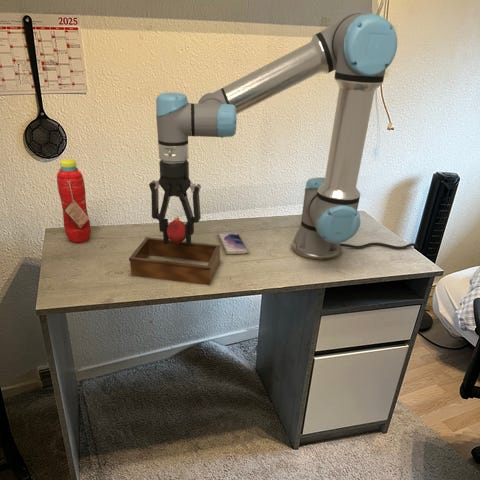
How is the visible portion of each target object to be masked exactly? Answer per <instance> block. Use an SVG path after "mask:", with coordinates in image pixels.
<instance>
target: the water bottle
mask: <svg viewBox="0 0 480 480" xmlns="http://www.w3.org/2000/svg"><path fill="white" fill-rule="evenodd" d="M59 166H60V168H59V169H58V172H57V174H56V183H57V184H56V185H57V190H58V195H59V198H60V203H61V208H62V217H63V228H64V233H65V235H66V237H67V238H68V240H69V242H72V243H76V244H77V243H78V244H80V243H85V242H87V241H89V239H90V236H91V233H92V231H91V223H90V217H89V213H88V209H87V199H86V198H87V197H86V186H85V185H86V184H85V180H84V177H83V176H84V175H83V174H82V172H81V171H80V170H79V169H78V167H77V166H78V164H77V162H76V160H75V159H70V158H65V159H61V160H60V161H59Z"/></svg>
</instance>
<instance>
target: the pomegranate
mask: <svg viewBox="0 0 480 480" xmlns="http://www.w3.org/2000/svg"><path fill="white" fill-rule="evenodd" d="M185 224H186V223H184V221H182V220H180V217H179V216H175V217H174V219H173V220H171V221H170V222H169V223H168V227H167V236H168V238H169V240H171V241H172V242H173V243H175V244H180V243H181V242H182V241H186V227H185Z"/></svg>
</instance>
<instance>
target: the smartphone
mask: <svg viewBox="0 0 480 480" xmlns="http://www.w3.org/2000/svg"><path fill="white" fill-rule="evenodd" d="M217 236H218V239H219V241H220V243H221V245H222V247H223V249H224V251H225V253H226V254H227V255H239V254H240V255H241V254H248V253H249V250H248V248H247V246H246V245H245V243H244V241H243V240H242V238H241V236H240V235H239V233H238V232H219V233H217Z"/></svg>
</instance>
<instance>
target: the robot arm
mask: <svg viewBox="0 0 480 480" xmlns="http://www.w3.org/2000/svg"><path fill="white" fill-rule="evenodd" d="M397 49H398V35H397V32H396V29H395V27H394V26H393V24H392V23H391V22H390V21H389V20H388V19H387V18H385V17H383V16H381V15H380V14H378V13H377V14H376V13H372V12H371V13H359V12H358V13H357V12H356V13H351V14H348V15H346V16H344V17H342V18H341V19H339V20H337V21H336V22H334V23H333V24H331V25H329V26H328V27H326V28H324V29H322V30H321V31H319V32H317V33H315V34H314V35H312V38H311V40H310V42H308V43H306V44H304V45H301V46H300V47H298V48H296V49H294V50H292V51H291V52H290V51H289V53H286V54H285V55H282V56H281V57H279V58H277V59H275V60H273V61H271V62H270V63H269V62H268V63H267V64H266V65H264V66H262V67H259V68H258V69H256V70H254V71H252V72H250V73H248V74H246V75H244V76H242V77H240V78H239V79H236V80H235V81H232V82H231V83H229V84H227V85H225V86H223V87H222V88H219V89H217V90H215V91H214V92H208V93H205V94H203V95H202V96H201V97H200V98H199V100H198V102H197V103H193V102H189V101H188V96H187V95H186V94H185V93H181V92H162V93H159V94H158V95H157V97H156V98H155V104H156V105H155V107H156V110H155V113H156V114H155V117H156V119H155V120H156V130H157V131H156V132H157V146H158V147H157V148H158V159H159V163H158V164H159V166H158V167H159V179H158V180H151V182H149V184H148V187H149V190H150V192H151V195H150V196H151V218H152V219H154V220H158V226H159V228H158V229H159V232H160V233H162V239H163V241H164V244H167V243H168V241H169V240H170V239H169V238H168V236H167V227H168V225H169V219H168V218H166V217H167V211H168V209H169V208H168V207H169V203H170V200H171V197H176V198H178V199H179V201H180V202H181V205H182V209H183V212H184V215H185V218H186V220H187V221H186V223H184V224H185V227H186V238H185V241H186V246H188V247H189V245H190V244H191V242H192V235H194V233H195V224H198V223H199V222H200V220H201V217H202V216H201V202H200V199H201V198H200V190H201V188H202V185H201V184H199V183H198V184H196V183H193V182H192V181H191V179H190V163H189V137H201V138H202V137H203V138H204V137H205V138H209V137H210V138H220V139H222V138H231V137H232V138H233V137H234V136H235V135H236V133H237V118H238V117H237V116H238V114H241V113H243V112H245V111H247V110H248V109H251V108H252V107H254V106H257V105H258V104H260V103H263V102H264V101H266V100H269V99H270V98H272V97H275V96H276V95H279V94H281V93H282V92H284V91H287V90H289V89H290V88H292V87H294V86H296V85H299V84H301V83H302V82H305V81H306V80H309V79H311V78H312V77H315V76H316V75H319V74H320V73H321V74H325V75H328V74H330V73H331V72H334V77H333V79H334V81H335V82H336V84H337V85H338V92H337V99H336V106H335V112H334V117H333V124H332V130H331V137H330V144H329V150H328V156H327V163H326V168H325V176H324V177H312V178H309V179H308V180H307V181H306V183H305V188H304V198H303V204H302V211H301V221H300V226H299V228H298V230H297V232H296V234H295V236H294V238H293V240H292V241H291V245H292V246H291V248H292V251H293V252H294V253H295V254H297V255H298V256H300V257H302V258H305V259H309V260H315V261H327V260H333V259H335V258H337V257H338V256H339V255H340V250H341V247H343V248H352V249H364V248H367V247H371V246H380V247H386V248H389V249H394V250H404V249H407V248H410V247H414V248H416V249H418V248H419V246H418V244H416V243H414V242H411V243H408V244H406V245H392V244H388V243H384V242H368V243H365V244H362V245H354V244H348V243H345V242H347V241H349V240H350V239H351V238H353V237H354V236H355V235H356V234H357V233H358V231H359V229H360V227H361V216H360V213H359V211H358V209H359V203H360V198H361V192H360V191H359V190H358V188H357V184H358V179H359V173H360V169H361V165H362V158H363V154H364V148H365V143H366V138H367V132H368V128H369V123H370V117H371V112H372V107H373V103H374V102H373V101H374V98H375V97H374V96H375V93H376V90H377V89H378V88H379V87H381V86H382V85H383V83H384V80H385V76H386V75H385V74H386V70H387V69H388V68H389V67H390V65H391V64H392V63H393V61H394V59H395V57H396V54H397ZM160 187H161V189H162V190H163V192H164V194H163V197H162V198H163V199H162V203H161V207H160V204H159V201H160V200H159V199H160V196H159V189H160ZM189 188H190V191H191V193H192V207H193V210H192V207H191V204H190V201H189V197H188V193H187V192H188V190H189ZM159 207H160V208H159ZM159 209H160V210H159Z"/></svg>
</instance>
